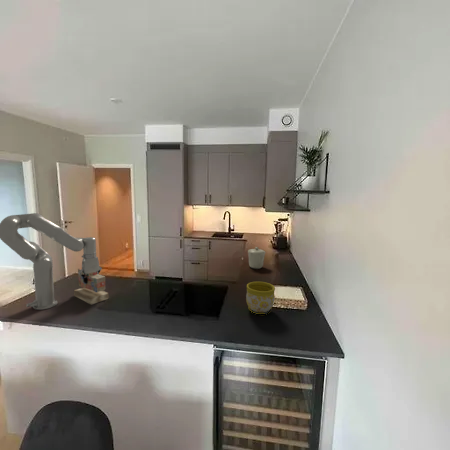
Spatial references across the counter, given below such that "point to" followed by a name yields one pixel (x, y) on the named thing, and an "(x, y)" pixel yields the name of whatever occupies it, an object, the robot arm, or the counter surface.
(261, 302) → the flowerpot
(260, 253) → the canister
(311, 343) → the counter surface
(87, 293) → the birch plinth
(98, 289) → the stack of blocks
